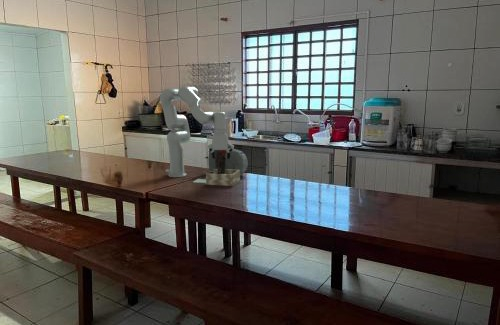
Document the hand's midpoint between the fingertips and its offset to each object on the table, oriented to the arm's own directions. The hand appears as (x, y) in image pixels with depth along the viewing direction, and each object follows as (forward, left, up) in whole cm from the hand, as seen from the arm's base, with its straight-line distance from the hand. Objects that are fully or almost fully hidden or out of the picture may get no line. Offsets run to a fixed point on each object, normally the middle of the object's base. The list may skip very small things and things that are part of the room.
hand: (221, 158), depth 229 cm
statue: (-1, 0, -16) cm, 16 cm away
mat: (-14, 0, -16) cm, 21 cm away
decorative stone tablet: (-3, +23, -16) cm, 28 cm away
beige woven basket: (+1, 0, -16) cm, 16 cm away
